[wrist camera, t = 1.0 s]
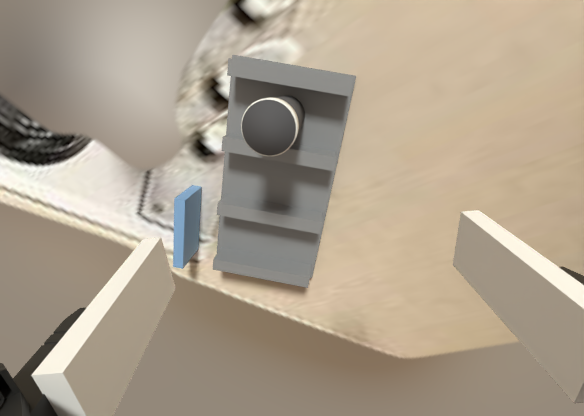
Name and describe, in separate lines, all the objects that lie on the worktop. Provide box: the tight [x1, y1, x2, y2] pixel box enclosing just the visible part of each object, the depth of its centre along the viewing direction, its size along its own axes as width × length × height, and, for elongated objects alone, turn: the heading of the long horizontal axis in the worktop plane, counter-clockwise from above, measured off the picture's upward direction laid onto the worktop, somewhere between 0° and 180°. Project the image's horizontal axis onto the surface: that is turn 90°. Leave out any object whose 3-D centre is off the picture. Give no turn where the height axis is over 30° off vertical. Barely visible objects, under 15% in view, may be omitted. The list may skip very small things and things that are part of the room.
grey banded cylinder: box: [241, 96, 305, 156], centre depth 28 cm, size 4×4×12 cm
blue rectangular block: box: [173, 185, 202, 269], centre depth 38 cm, size 1×9×5 cm, turn 171°
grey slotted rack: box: [213, 55, 356, 288], centre depth 36 cm, size 13×25×4 cm, turn 171°
